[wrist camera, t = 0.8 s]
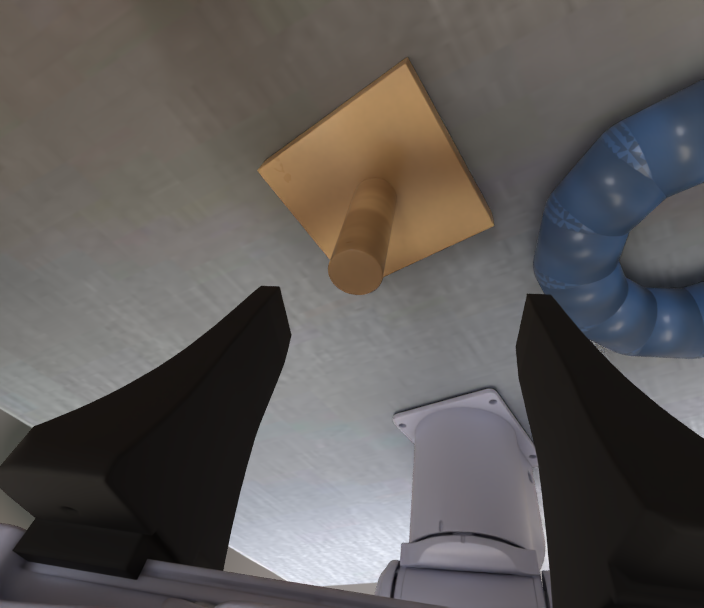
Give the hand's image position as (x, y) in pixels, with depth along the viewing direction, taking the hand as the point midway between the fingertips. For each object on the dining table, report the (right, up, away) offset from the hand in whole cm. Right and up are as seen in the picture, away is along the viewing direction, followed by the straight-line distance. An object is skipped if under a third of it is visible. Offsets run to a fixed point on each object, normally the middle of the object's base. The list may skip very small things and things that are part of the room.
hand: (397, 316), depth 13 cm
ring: (+13, +3, +5) cm, 15 cm away
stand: (0, +6, +8) cm, 10 cm away
